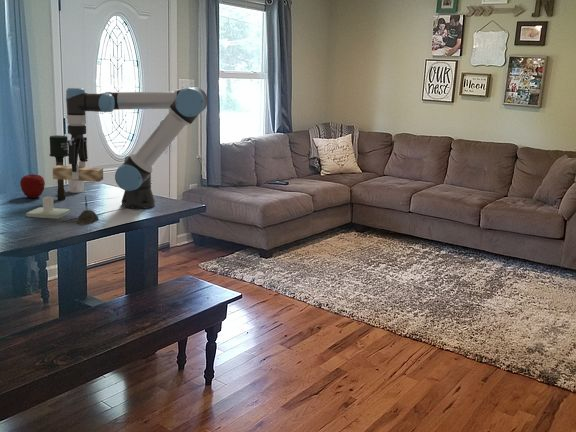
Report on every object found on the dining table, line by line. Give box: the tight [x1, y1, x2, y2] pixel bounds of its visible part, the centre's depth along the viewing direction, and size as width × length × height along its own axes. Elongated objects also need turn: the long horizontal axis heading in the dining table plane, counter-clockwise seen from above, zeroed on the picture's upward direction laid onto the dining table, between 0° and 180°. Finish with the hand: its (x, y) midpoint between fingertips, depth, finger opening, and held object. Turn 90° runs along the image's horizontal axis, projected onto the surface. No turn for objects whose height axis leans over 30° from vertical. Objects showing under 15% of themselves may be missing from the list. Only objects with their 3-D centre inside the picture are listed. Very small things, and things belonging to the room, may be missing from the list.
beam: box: [52, 165, 104, 183], centre depth 260 cm, size 20×6×5 cm, turn 89°
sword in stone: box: [77, 195, 99, 225], centre depth 246 cm, size 10×8×12 cm
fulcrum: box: [25, 195, 71, 220], centre depth 253 cm, size 14×11×8 cm
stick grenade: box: [49, 135, 69, 201], centre depth 278 cm, size 8×9×30 cm
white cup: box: [67, 180, 85, 194], centre depth 299 cm, size 8×8×10 cm
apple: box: [19, 173, 45, 199], centre depth 282 cm, size 11×11×12 cm
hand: (79, 177), depth 260 cm, fingers closed on beam, 6 cm apart
